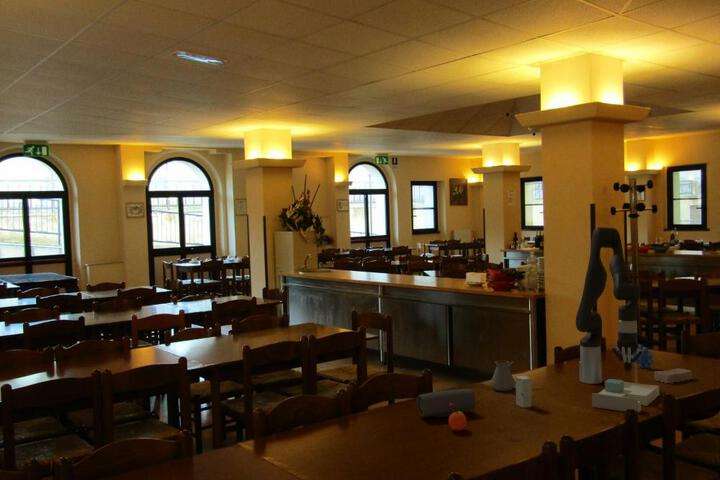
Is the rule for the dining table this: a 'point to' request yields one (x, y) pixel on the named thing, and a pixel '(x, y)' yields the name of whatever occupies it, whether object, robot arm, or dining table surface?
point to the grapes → (644, 357)
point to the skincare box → (523, 391)
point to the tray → (626, 397)
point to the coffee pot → (503, 375)
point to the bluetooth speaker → (445, 402)
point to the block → (614, 385)
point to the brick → (673, 375)
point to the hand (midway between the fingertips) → (628, 371)
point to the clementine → (457, 421)
